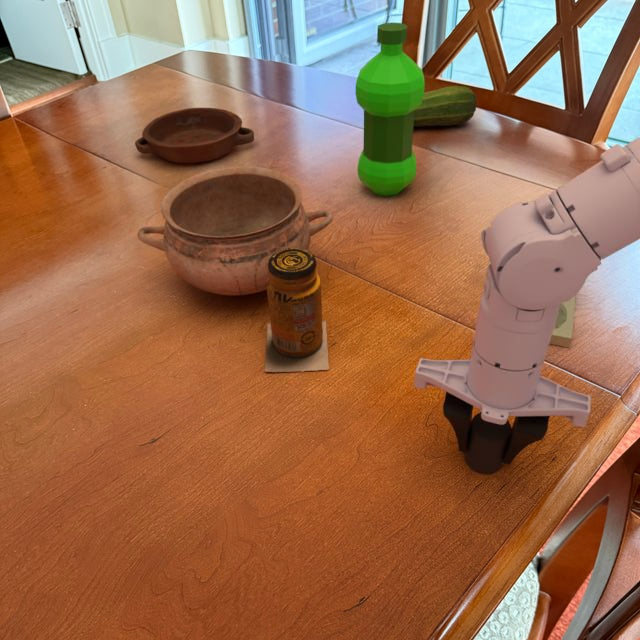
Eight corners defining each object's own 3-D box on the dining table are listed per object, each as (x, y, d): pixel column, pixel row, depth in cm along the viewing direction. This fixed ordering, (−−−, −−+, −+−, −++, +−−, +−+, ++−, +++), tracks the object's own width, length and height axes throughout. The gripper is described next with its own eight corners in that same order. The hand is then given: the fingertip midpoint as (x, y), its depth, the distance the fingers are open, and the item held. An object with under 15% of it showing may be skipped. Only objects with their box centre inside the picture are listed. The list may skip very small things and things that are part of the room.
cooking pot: (145, 333, 74) (120, 250, 66) (158, 248, 89) (138, 172, 81) (344, 312, 76) (343, 229, 68) (325, 232, 90) (323, 156, 82)
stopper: (510, 463, 58) (520, 430, 55) (483, 480, 56) (491, 447, 53) (484, 438, 60) (491, 405, 57) (457, 454, 59) (463, 421, 55)
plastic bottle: (416, 173, 103) (428, 16, 87) (416, 204, 95) (429, 37, 79) (358, 172, 104) (359, 16, 88) (353, 203, 97) (353, 38, 80)
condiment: (325, 322, 75) (322, 240, 67) (329, 370, 68) (325, 286, 60) (267, 325, 75) (257, 243, 67) (264, 373, 68) (253, 290, 60)
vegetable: (480, 81, 112) (374, 89, 112) (480, 122, 114) (376, 130, 113) (469, 87, 119) (369, 95, 119) (469, 125, 121) (371, 132, 120)
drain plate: (569, 349, 69) (572, 340, 68) (481, 331, 72) (483, 322, 71) (577, 254, 84) (579, 245, 83) (503, 242, 86) (505, 233, 85)
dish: (140, 137, 119) (134, 112, 116) (250, 125, 122) (248, 101, 118) (135, 177, 106) (128, 150, 103) (259, 163, 109) (256, 137, 105)
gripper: (409, 359, 48) (400, 462, 57) (604, 403, 44) (562, 506, 52) (429, 306, 53) (418, 408, 62) (605, 340, 49) (567, 445, 57)
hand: (485, 449), depth 57 cm, fingers closed on stopper, 3 cm apart
